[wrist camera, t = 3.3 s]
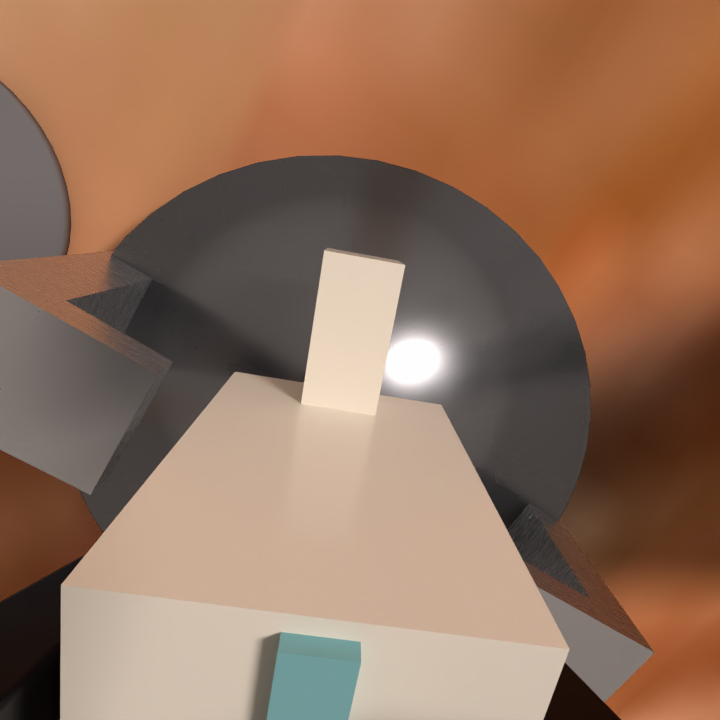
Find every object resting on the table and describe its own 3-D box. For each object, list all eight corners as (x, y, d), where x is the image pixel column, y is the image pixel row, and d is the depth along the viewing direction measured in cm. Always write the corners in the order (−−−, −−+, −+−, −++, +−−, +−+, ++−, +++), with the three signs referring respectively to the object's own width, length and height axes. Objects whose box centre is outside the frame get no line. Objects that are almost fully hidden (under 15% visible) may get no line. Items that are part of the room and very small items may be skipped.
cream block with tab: (249, 234, 9) (43, 241, 3) (472, 274, 9) (700, 354, 3) (204, 645, 11) (47, 1093, 6) (379, 666, 12) (408, 1112, 6)
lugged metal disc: (5, 491, 14) (-193, 641, 9) (231, 36, 11) (125, -136, 6) (396, 682, 16) (416, 888, 11) (675, 351, 13) (881, 427, 8)
